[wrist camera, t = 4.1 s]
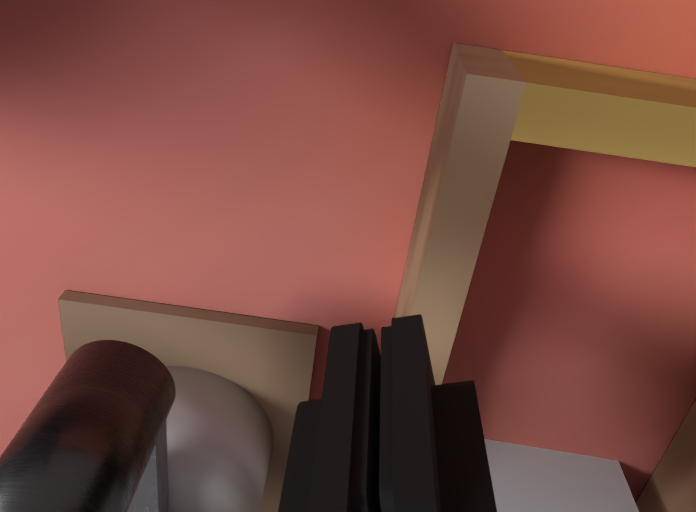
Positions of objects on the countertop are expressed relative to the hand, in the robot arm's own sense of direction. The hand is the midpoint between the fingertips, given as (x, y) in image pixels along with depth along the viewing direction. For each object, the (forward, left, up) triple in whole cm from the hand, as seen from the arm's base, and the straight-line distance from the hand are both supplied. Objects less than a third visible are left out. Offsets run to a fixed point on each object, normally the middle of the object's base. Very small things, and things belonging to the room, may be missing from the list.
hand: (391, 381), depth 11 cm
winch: (-9, +6, -7) cm, 13 cm away
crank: (-6, +6, -2) cm, 8 cm away
